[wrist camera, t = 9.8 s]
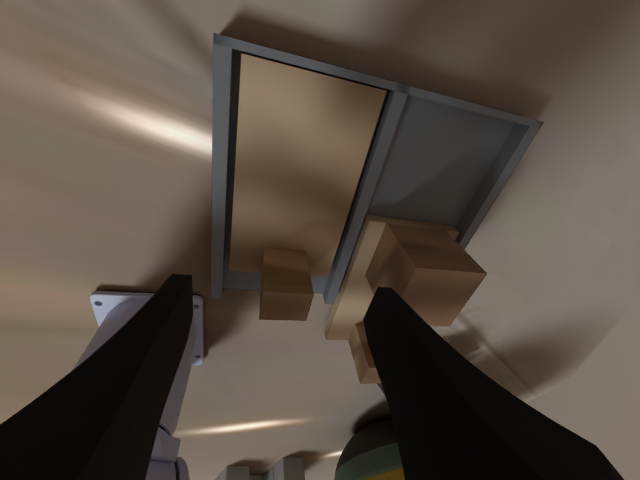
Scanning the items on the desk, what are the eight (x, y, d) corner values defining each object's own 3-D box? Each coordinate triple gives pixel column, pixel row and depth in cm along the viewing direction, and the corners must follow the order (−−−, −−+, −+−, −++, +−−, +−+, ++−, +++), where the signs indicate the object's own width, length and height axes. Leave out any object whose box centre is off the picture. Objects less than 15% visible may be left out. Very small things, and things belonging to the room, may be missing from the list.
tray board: (420, 296, 27) (428, 307, 26) (214, 285, 23) (210, 298, 21) (525, 117, 18) (543, 122, 17) (218, 34, 14) (213, 33, 12)
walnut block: (418, 278, 24) (449, 326, 20) (365, 274, 22) (386, 324, 18) (445, 230, 21) (487, 273, 17) (386, 223, 20) (416, 267, 16)
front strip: (326, 269, 23) (339, 321, 18) (230, 262, 21) (220, 318, 16) (380, 88, 16) (424, 104, 11) (243, 53, 14) (230, 54, 9)
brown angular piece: (392, 332, 29) (414, 381, 25) (324, 331, 27) (334, 384, 23) (452, 225, 22) (497, 268, 18) (365, 214, 20) (392, 259, 16)
